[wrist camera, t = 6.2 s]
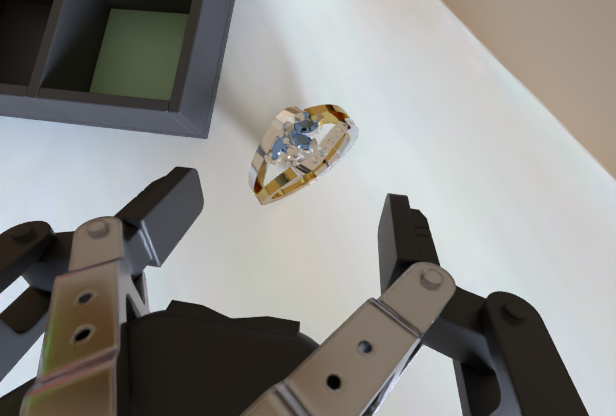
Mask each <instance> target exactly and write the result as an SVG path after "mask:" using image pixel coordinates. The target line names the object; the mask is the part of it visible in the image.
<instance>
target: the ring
mask: <svg viewBox="0 0 616 416" xmlns="http://www.w3.org/2000/svg"><path fill="white" fill-rule="evenodd" d="M296 121H300V122H298V123H297V124H295V122H296ZM327 123H332V124H336V125H335V126H334V127H333V128H332V129H331V130H330V132H329V133H328V134H327V135H326V136H325V137H324V139H323V140H322V141H321V143H320V144H319V145H318V147H317V142H316V139H315V138H314V139H312V140H311V139H310V137H311V136H313V135H315V134H316V133H317V134H318V133H320V132H321V131H322V126H323V124H327ZM286 131H287V132H286ZM358 135H359V129H358V127H357V126H356V125H355V123H354V122H353V120H352V119H350V117H349V116H348V114H347V113H346V112H345V110H344V109H342V108H341V107H339V106H336V105H319V106H314V107H310V108H307V109H304V110H303V109H301V108H299V107H290V108H287V109H285V110H283V111H282V112H280V113H279V114H278V115H277V116H276V117H275V118H274V120H273V121H272V123H271V124H270V126H269V127H268V129H267V131H266V133H265V135H264V137H263V139H262V141H261V143H260V145H259V147H258V149H257V151H256V153H255V155H254V158H253V160H252V163H251V166H250V170H249V178H248V179H249V186H250V188H251V189H252V191H253V193H254V195H255V196H256V197H257V199H258V201H259V202H260V204H261V205H266V204H270V203H273V202H275V201H277V200H280V199H282V198H284V197H286V196H288V195H290V194H292V193H294V192H296V191H297V190H299V189H301V188H303V187H304V186H306V185H310V184H312V183H313V182H315V181H316V180H317V178H319V177H320V176H321V175H323V174H324V173H325V172H327V171H328V170H329V169H330V168H332V167H333V166H334V165H335V164H336V163H337V162H338V161H339V160H340V159H341V158H342V157H343V156H344V155H345V154H346V153H347V152H348V151H349V150H350V149H351V147H352V146H353V145H354V143H355V141H356V140H357V138H358ZM302 152H305V153H311V156H310V157H309V158H307V159H306V160H305V161H303V162H301V163H299V160H300V159H303V158H304V157H305V155H304V154H303V153H302ZM282 159H283V160H284V161H286V162H288V166H289V168H288V169H287V170H286V171H284V172H283V173H282V174H280V175H279V176H278V177H276V178H275V179H274V180H272V181H271V182H270V183H269V184H267V185H266V186H265V187H263V183H264V177H265V174H266V171H267V168H268V166H269V163H271V164H274V165H276V164H278V163H280V160H282Z"/></svg>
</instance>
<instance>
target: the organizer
mask: <svg viewBox="0 0 616 416" xmlns="http://www.w3.org/2000/svg"><path fill="white" fill-rule="evenodd" d="M234 1H235V0H0V116H8V117H17V118H26V119H35V120H44V121H53V122H61V123H70V124H79V125H88V126H97V127H106V128H114V129H123V130H132V131H141V132H150V133H159V134H167V135H176V136H185V137H194V138H203V139H207V137H208V132H209V127H210V122H211V117H212V112H213V107H214V102H215V97H216V92H217V87H218V82H219V77H220V72H221V67H222V62H223V57H224V52H225V47H226V42H227V37H228V32H229V26H230V21H231V16H232V11H233V6H234Z"/></svg>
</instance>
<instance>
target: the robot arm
mask: <svg viewBox="0 0 616 416" xmlns="http://www.w3.org/2000/svg"><path fill="white" fill-rule="evenodd" d="M203 204H204V199H203V194H202V189H201V184H200V179H199V175H198V172H197V170H196V169H194V168H186V167H175V168H174V169H173V170H172V171H171V172H170V173H169V174H167V175H166V176H164V177H162V178H160V179H158V180H156V181H153V182H152V183H151V184H150V185H148V186H147V187H146V188H145V189H144V191H142V192H141V193H139V194H138V196H137V197H135V198H134V199H133V200H132V201H130V202H129V203H128V204H127V205H126V206H125V207H124V208H123V209H121V210H120V211H119V212H118V213H117V214H116V215H115V216H113V217H112V216H105V217H99V218H95V219H92V220H90V221H87V222H85V223H84V224H82V225H81V226H79V227H78V228H77V229H76V231H72V232H60V233H54V231H53V230H52V228H51V227H50V225H49V224H48V223H47V222H43V221H32V222H26V223H23V224H19V225H17V226H14V227H12V228H10V229H8V230H6V231H5V232H3V233H2V234H0V293H1V292H3V291H4V290H5V289H6V288H7V287H8V286H9V285H11V284H12V283H13V282H14V281H15V280H16V279H17V278H18V277H20V276H21V275H22V277H23V278H24V279H25V280H26V281H27V283H28V284H29V285H30V287H28V288H27V289H26V290H25V291H24V292H23V293H22V294H21V295H20V296H19V297H18V298H17V299H16V300H15V301H14V302H13V303H11V304H10V305H9V306H8V307H7V308H6V309H5V310H4V311H3V312H2V313H1V314H0V382H1V381H2V379H3V378H4V377H5V376H6V375H7V374H8V373H9V371H10V370H11V369H12V368H13V367H14V366H15V365H16V364H17V362H18V361H19V360H20V359H21V358H22V357H23V356H24V354H25V353H26V352H27V351H28V350H29V349H30V348H31V346H32V345H33V344H34V343H35V342H36V341H37V340H38V338H39V337H40V336H41V335H42V334H43V333H44V332H45V334H44V339H43V345H42V350H41V356H40V361H39V367H38V372H37V376H36V377H35V378H33V379H31V380H30V381H28V382H26V383H24V384H23V385H21V386H19V387H18V388H16V389H14V390H13V391H11V392H9V393H8V394H6V395H4V396H3V397H1V398H0V416H374V414H375V413H376V412H377V410H378V409H379V407H380V406H381V405H382V403H383V402H384V400H385V399H386V397H387V396H388V394H389V393H390V391H391V390H392V388H393V387H394V385H395V384H396V382H397V381H398V379H399V378H400V377H401V375H402V374H403V373H404V371H405V370H406V368H407V367H408V366H409V364H410V363H411V362H412V360H413V359H414V358H415V356H416V355H417V353H418V352H419V351H420V349H421V348H422V347H423V345H426V346H428V347H430V348H432V349H434V350H436V351H438V352H440V353H442V354H444V355H446V356H448V357H450V358H452V359H453V365H454V370H455V375H456V381H457V386H458V392H459V397H460V402H461V408H462V413H463V416H589V415H588V413H587V411H586V408H585V406H584V404H583V402H582V400H581V398H580V396H579V394H578V392H577V390H576V388H575V386H574V384H573V382H572V380H571V378H570V376H569V374H568V371H567V369H566V367H565V365H564V363H563V361H562V359H561V357H560V355H559V353H558V351H557V349H556V347H555V345H554V343H553V341H552V339H551V336H550V334H549V332H548V330H547V328H546V326H545V324H544V322H543V320H542V318H541V316H540V315H539V313H538V312H537V311H536V309H535V308H534V307H533V306H532V305H530V304H529V303H528V302H527V301H525V300H524V299H522V298H520V297H518V296H516V295H514V294H511V293H508V292H502V291H497V292H493V293H491V294H490V295H489V296H488V297H487V298H483V297H481V296H478V295H476V294H473V293H471V292H468V291H466V290H463V289H461V288H460V287H458V286H456V284H455V281H454V279H453V278H452V276H451V275H450V274H449V273H448V272H447V271H446V270H445V269H443V268H442V267H440V263H439V260H438V256H437V253H436V249H435V246H434V242H433V239H432V238H431V237H432V235H431V232H430V230H429V225H428V221H427V218H426V217H425V216H424V215H423V214H422V213H421V212H420V210H417V209H410V205H409V201H408V197H407V196H406V195H398V194H390V193H388V194H387V196H386V199H385V203H384V207H383V211H382V215H381V218H380V222H379V227H378V251H379V268H380V284H381V296H380V297H379V298H378V299H377V300H375V299H374V298H370V299H368V300H367V301H366V302H365V303H364V304H363V305H362V306H361V307H359V308H358V309H357V310H356V311H355V312H354V313H353V314H352V315H351V316H350V317H349V318H348V319H347V320H346V321H345V322H344V323H343V324H342V325H341V326H340V327H339V328H338V329H337V330H336V331H335V332H333V333H332V334H331V335H330V336H329V337H328V338H327V339H326V340H325V341H324V342H323V343H322V344H321V345H319V344H317V343H316V342H315V341H314V340H313V339H311V338H309V337H308V336H306V335H304V334H302V333H300V332H299V330H300V322H298V321H292V320H287V319H281V318H275V317H269V316H264V317H250V318H229V317H227V316H224V315H222V314H220V313H218V312H216V311H214V310H212V309H210V308H207V307H205V306H203V305H199V304H193V303H187V302H181V301H175V300H172V301H171V302H170V304H169V306H168V307H167V309H166V310H162V311H157V312H152V313H150V310H149V302H148V294H147V285H146V277H145V273H144V271H143V270H144V268H145V267H146V266H147V265H149V266H155V267H161V265H162V264H163V263H164V261H165V260H166V259H167V257H168V256H169V255H170V253H171V252H172V251H173V249H174V248H175V246H176V245H177V244H178V242H179V241H180V240H181V238H182V237H183V236H184V234H185V233H186V232H187V230H188V229H189V228H190V226H191V225H192V224H193V222H194V221H195V220H196V218H197V217H198V216H199V214H200V213H201V211H202V209H203Z"/></svg>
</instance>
